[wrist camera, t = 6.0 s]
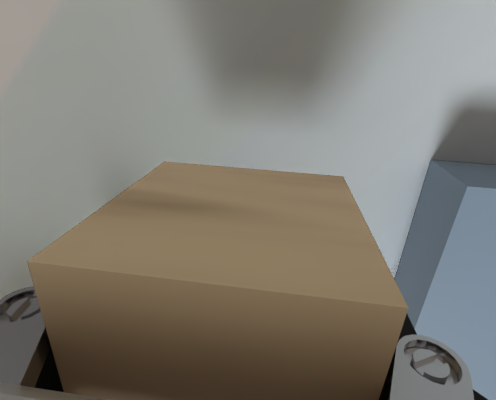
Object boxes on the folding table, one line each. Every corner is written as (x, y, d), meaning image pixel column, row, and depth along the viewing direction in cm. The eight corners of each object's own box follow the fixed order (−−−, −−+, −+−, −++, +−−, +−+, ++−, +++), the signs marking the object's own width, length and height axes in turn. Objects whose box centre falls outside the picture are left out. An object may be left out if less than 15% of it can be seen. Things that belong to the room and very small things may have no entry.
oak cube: (318, 318, 12) (340, 519, 7) (172, 300, 13) (85, 470, 7) (343, 176, 10) (408, 307, 4) (164, 161, 11) (27, 261, 5)
